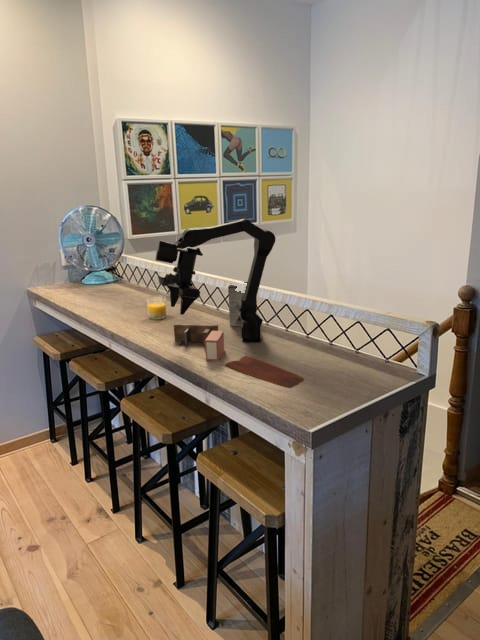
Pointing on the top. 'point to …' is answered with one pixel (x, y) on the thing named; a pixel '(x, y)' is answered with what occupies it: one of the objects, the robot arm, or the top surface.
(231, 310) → the coffee box
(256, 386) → the top surface
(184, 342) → the bookend
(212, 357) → the block
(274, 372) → the wooden tablet
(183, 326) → the wooden display stand
